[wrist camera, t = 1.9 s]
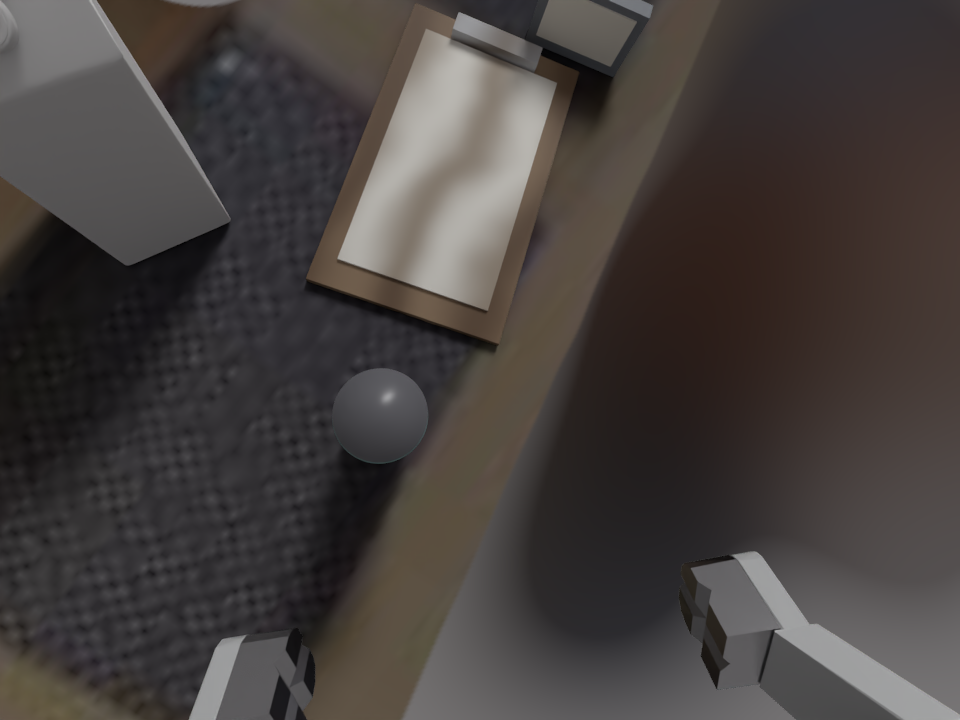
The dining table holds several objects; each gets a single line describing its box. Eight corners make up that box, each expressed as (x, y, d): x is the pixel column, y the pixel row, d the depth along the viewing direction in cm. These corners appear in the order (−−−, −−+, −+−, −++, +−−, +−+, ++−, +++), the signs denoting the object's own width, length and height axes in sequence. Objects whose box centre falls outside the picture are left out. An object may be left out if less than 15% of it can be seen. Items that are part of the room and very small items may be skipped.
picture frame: (524, 41, 41) (547, -26, 36) (528, 28, 42) (552, -40, 36) (612, 78, 42) (649, 20, 37) (616, 65, 43) (653, 5, 37)
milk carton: (76, 176, 33) (-305, -164, 15) (183, 135, 35) (-40, -213, 17) (128, 268, 33) (-198, 37, 14) (232, 222, 35) (62, -36, 16)
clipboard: (307, 281, 35) (303, 273, 33) (414, 9, 40) (416, -9, 38) (497, 345, 37) (502, 341, 35) (576, 77, 42) (584, 62, 40)
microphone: (341, 448, 33) (316, 447, 21) (362, 389, 34) (350, 354, 22) (401, 466, 34) (412, 475, 21) (419, 407, 35) (441, 384, 22)
